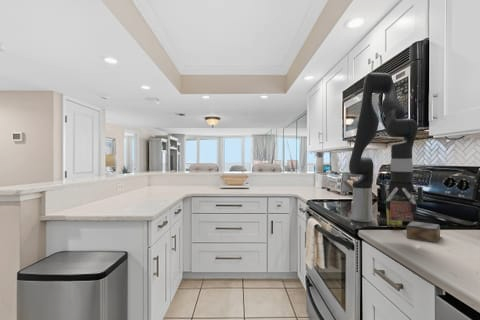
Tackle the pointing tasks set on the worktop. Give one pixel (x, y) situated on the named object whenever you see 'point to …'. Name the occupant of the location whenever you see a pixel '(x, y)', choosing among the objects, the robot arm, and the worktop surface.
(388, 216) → the sauce bottle
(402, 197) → the lighter
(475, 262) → the worktop surface
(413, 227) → the grey slab
